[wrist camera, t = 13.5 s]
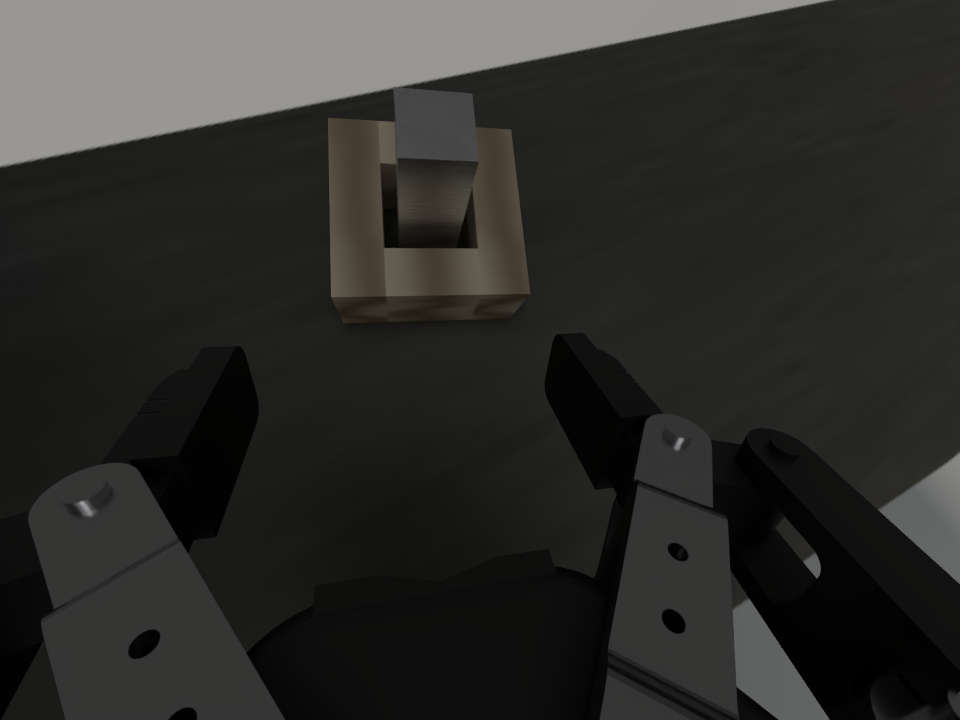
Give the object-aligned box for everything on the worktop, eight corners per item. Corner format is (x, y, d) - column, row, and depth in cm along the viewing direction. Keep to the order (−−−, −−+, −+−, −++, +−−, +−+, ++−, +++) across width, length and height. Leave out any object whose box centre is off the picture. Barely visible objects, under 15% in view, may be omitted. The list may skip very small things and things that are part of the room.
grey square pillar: (399, 269, 35) (397, 157, 22) (397, 222, 36) (393, 87, 22) (450, 269, 36) (478, 161, 22) (447, 223, 37) (472, 93, 23)
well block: (343, 323, 33) (331, 297, 27) (340, 170, 36) (328, 117, 30) (509, 318, 36) (530, 293, 30) (494, 177, 39) (510, 129, 33)
